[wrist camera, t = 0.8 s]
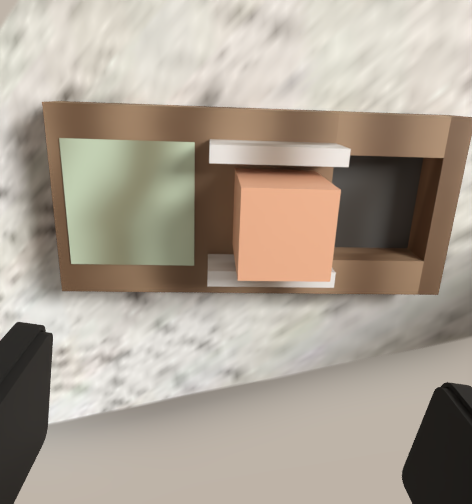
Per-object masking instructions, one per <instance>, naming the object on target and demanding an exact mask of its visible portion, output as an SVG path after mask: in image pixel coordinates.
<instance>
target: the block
mask: <svg viewBox="0 0 472 504" xmlns="http://www.w3.org/2000/svg"><path fill="white" fill-rule="evenodd" d="M340 194H341V190H340V189H339V188H338V187H336V186H335V185H333V184H332V183H331V182H329V181H328V180H327V179H325V178H324V177H323V176H321V175H320V174H319V173H317V172H316V171H315V170H282V169H245V168H235V183H234V211H233V240H232V245H233V252H234V259H235V266H236V273H237V280H238V281H304V282H330V279H331V271H332V262H333V254H334V245H335V237H336V228H337V220H338V211H339V203H340Z"/></svg>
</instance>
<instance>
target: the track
mask: <svg viewBox="0 0 472 504" xmlns="http://www.w3.org/2000/svg"><path fill="white" fill-rule="evenodd" d="M42 106H43V115H44V124H45V134H46V143H47V153H48V162H49V172H50V181H51V190H52V200H53V209H54V219H55V228H56V237H57V247H58V256H59V266H60V275H61V285H62V291H106V292H210V293H315V294H420V295H438V293H439V288H440V283H441V279H442V274H443V269H444V264H445V260H446V255H447V250H448V245H449V241H450V236H451V231H452V226H453V221H454V217H455V212H456V207H457V202H458V198H459V193H460V188H461V183H462V179H463V174H464V169H465V164H466V159H467V155H468V150H469V145H470V140H471V136H472V117H463V116H452V115H426V114H399V113H371V112H344V111H316V110H289V109H261V108H234V107H206V106H179V105H151V104H124V103H96V102H69V101H52V102H42ZM235 168H245V169H282V170H315V171H316V172H317V173H319V174H320V175H321V176H323V177H324V178H325V179H327V180H328V181H329V182H331V183H332V184H333V185H335V186H336V187H338V188H339V189H340V190H341V194H340V203H339V211H338V220H337V228H336V237H335V245H334V254H333V262H332V271H331V279H330V282H304V281H238V280H237V273H236V266H235V259H234V252H233V245H232V240H233V211H234V183H235Z"/></svg>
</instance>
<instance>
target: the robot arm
mask: <svg viewBox="0 0 472 504" xmlns="http://www.w3.org/2000/svg"><path fill="white" fill-rule="evenodd" d="M52 345H53V335H52V333H48V332H46V330H45V327H44V325H37V324H30V323H23V322H17V323H16V324H15V325H14V326H13V327H12V328H11V329H10V330H9V332H8V333H7V334H6V335H5V336H4V337H3V338H2V339H1V341H0V504H14V501H15V499H16V498H17V496H18V493H19V491H20V489H21V487H22V485H23V483H24V481H25V479H26V477H27V475H28V473H29V471H30V469H31V467H32V465H33V463H34V461H35V459H36V457H37V455H38V453H39V451H40V449H41V447H42V445H43V443H44V440H45V437H46V434H47V428H48V414H49V396H50V379H51V362H52ZM402 480H403V484H404V487H405V489H406V491H407V493H408V495H409V497H410V499H411V501H412V504H472V387H471V386H468V385H462V384H455V383H448V382H447V383H444V384H443V385H442V386H441V387H438V388H436V389H435V391H434V393H433V396H432V398H431V400H430V403H429V405H428V408H427V410H426V413H425V415H424V418H423V420H422V423H421V425H420V428H419V430H418V433H417V435H416V438H415V440H414V443H413V445H412V448H411V450H410V452H409V456H408V458H407V460H406V462H405V465H404V468H403V471H402Z"/></svg>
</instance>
